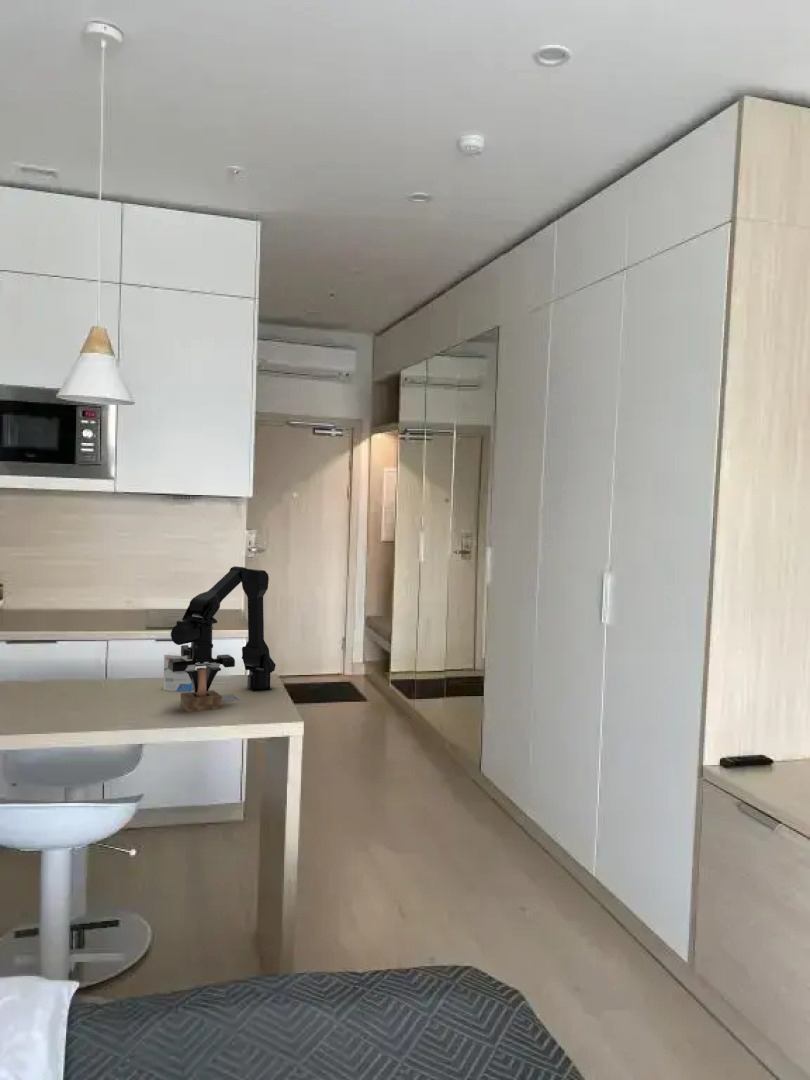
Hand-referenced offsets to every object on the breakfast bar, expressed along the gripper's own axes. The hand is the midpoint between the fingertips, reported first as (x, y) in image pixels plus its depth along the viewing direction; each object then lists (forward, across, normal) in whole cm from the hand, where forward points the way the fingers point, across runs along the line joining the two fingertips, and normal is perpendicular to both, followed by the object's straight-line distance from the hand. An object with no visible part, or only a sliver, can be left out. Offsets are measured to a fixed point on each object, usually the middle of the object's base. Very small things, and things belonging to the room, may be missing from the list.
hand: (201, 691), depth 249 cm
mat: (+5, -10, -7) cm, 13 cm away
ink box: (+5, 0, -24) cm, 24 cm away
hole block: (+5, 0, 0) cm, 5 cm away
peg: (+2, 0, 0) cm, 2 cm away
